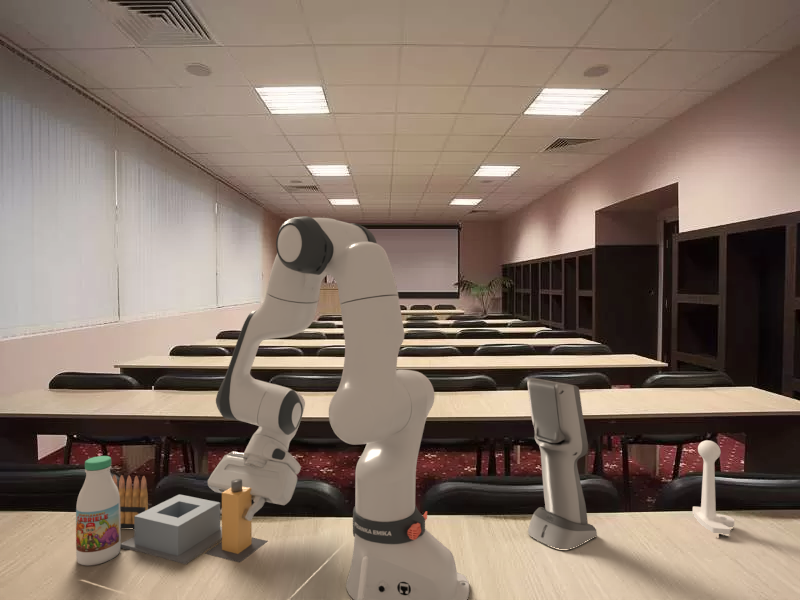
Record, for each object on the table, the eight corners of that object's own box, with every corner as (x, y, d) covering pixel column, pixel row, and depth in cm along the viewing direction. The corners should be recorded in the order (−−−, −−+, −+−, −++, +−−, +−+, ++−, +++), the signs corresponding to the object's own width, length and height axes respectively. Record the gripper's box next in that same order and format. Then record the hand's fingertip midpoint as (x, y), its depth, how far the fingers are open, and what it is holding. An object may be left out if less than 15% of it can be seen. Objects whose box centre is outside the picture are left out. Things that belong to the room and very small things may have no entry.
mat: (267, 542, 106) (267, 540, 106) (239, 563, 98) (239, 562, 98) (234, 534, 109) (234, 533, 109) (204, 554, 101) (204, 553, 101)
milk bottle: (79, 551, 102) (79, 455, 102) (122, 543, 105) (121, 450, 105) (73, 570, 95) (72, 467, 95) (118, 561, 98) (118, 462, 98)
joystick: (687, 515, 120) (688, 433, 119) (721, 517, 118) (722, 435, 118) (708, 537, 109) (709, 447, 108) (746, 540, 107) (747, 449, 107)
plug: (251, 544, 105) (251, 478, 104) (238, 553, 101) (238, 486, 100) (235, 540, 106) (235, 476, 106) (221, 549, 102) (221, 483, 102)
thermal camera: (519, 532, 111) (520, 377, 110) (554, 517, 118) (556, 372, 118) (563, 555, 101) (565, 386, 101) (599, 537, 109) (601, 379, 108)
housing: (234, 533, 110) (234, 503, 110) (185, 565, 97) (185, 531, 97) (173, 519, 117) (172, 490, 116) (120, 547, 104) (119, 515, 103)
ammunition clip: (150, 526, 113) (149, 474, 113) (145, 530, 111) (145, 477, 111) (105, 524, 114) (105, 473, 114) (100, 528, 112) (100, 476, 112)
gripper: (220, 443, 113) (188, 502, 104) (296, 455, 106) (268, 519, 97) (233, 457, 118) (203, 514, 109) (307, 468, 110) (281, 531, 101)
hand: (234, 517), depth 103 cm, fingers closed on plug, 4 cm apart
